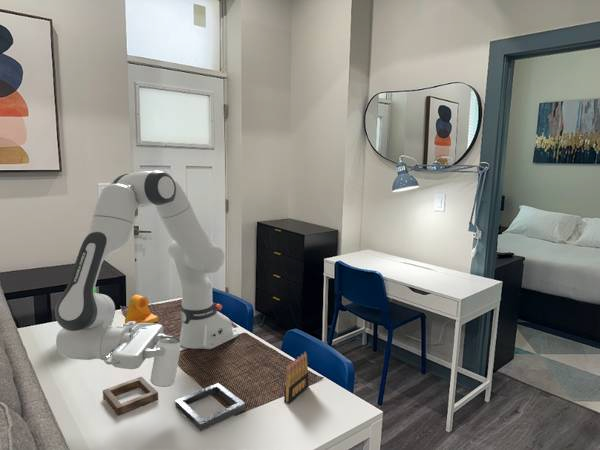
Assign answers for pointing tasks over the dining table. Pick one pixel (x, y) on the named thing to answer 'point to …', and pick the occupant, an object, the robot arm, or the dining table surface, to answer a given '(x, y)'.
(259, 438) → the dining table surface
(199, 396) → the dark grey square frame
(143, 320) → the orange figurine
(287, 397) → the ammunition clip
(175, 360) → the can
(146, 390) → the wooden square frame
